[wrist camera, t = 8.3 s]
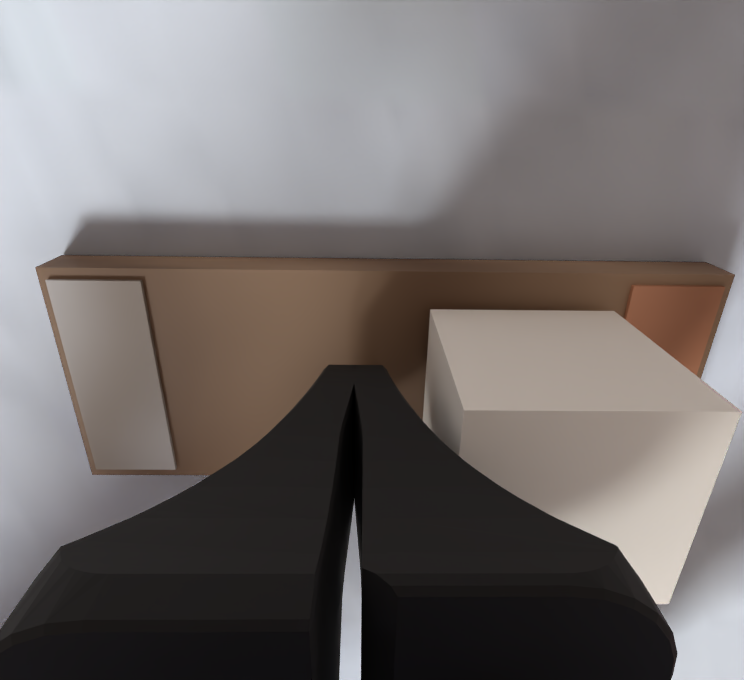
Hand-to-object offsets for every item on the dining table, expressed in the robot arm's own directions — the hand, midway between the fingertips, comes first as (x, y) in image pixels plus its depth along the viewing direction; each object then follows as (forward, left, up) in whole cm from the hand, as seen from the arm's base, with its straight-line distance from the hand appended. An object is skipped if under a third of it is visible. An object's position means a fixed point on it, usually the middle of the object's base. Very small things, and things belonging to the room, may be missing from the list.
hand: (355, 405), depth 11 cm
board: (+1, 0, -2) cm, 2 cm away
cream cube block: (+4, 0, -1) cm, 4 cm away
